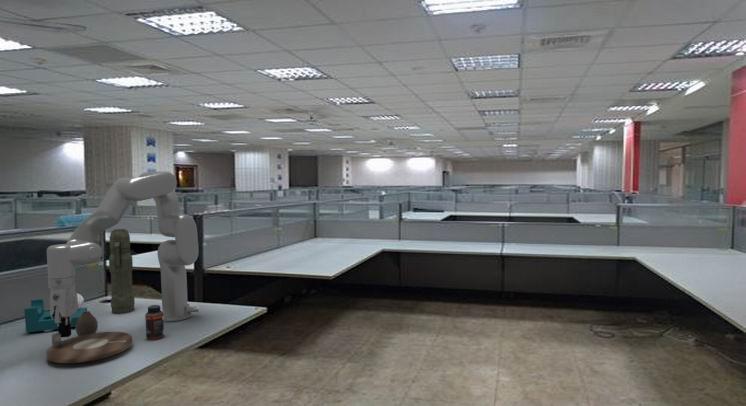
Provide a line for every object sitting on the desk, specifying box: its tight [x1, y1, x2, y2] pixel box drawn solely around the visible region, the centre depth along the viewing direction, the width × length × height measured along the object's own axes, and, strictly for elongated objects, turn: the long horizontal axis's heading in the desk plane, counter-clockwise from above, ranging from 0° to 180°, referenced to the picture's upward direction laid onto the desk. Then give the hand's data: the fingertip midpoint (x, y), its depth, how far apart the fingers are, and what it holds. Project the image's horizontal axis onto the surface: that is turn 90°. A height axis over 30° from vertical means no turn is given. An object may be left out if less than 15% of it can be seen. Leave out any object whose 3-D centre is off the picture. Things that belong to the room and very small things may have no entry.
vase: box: [74, 310, 99, 336], centre depth 172 cm, size 7×7×9 cm
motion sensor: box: [77, 293, 85, 308], centre depth 204 cm, size 8×8×8 cm
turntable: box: [45, 331, 133, 364], centre depth 155 cm, size 24×24×6 cm
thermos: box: [108, 228, 135, 315], centre depth 202 cm, size 9×12×35 cm
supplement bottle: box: [144, 304, 165, 341], centre depth 169 cm, size 6×6×11 cm
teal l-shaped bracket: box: [23, 297, 88, 334], centre depth 182 cm, size 18×11×10 cm, turn 113°
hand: (65, 336), depth 158 cm, fingers closed
